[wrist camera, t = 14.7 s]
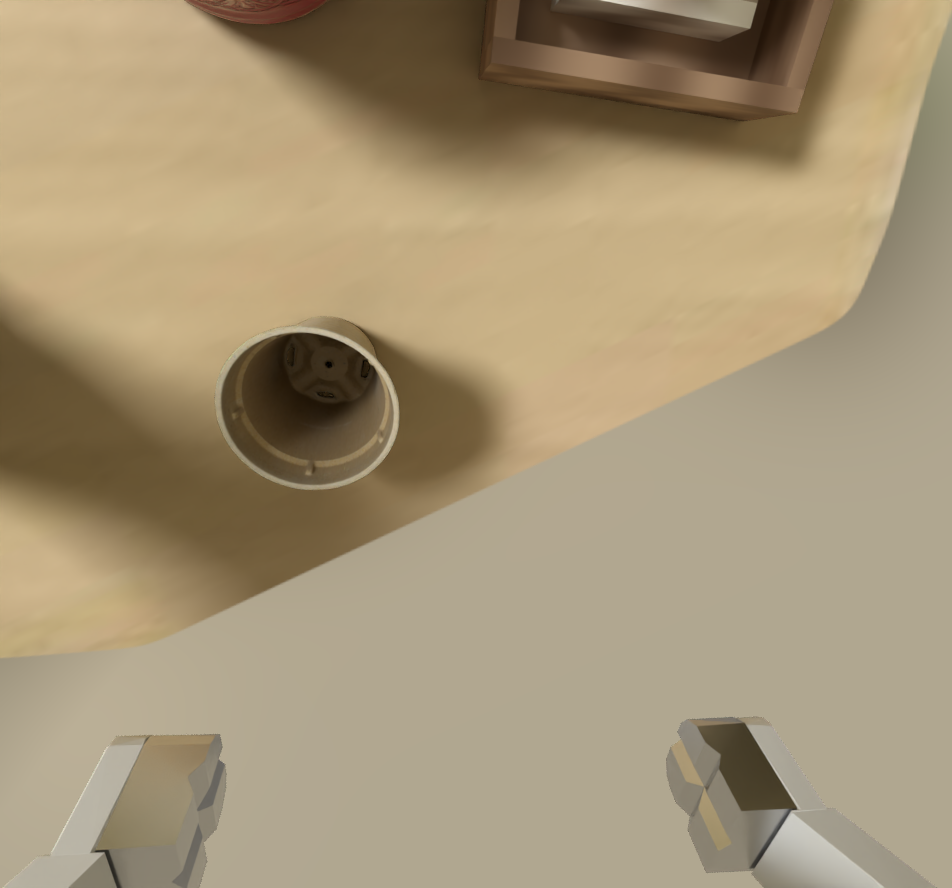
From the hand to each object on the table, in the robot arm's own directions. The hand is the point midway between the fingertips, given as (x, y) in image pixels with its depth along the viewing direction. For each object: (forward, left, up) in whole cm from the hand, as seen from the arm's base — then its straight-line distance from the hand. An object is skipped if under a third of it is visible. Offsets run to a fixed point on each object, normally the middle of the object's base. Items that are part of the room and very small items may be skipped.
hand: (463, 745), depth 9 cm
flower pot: (-6, -3, -29) cm, 30 cm away
